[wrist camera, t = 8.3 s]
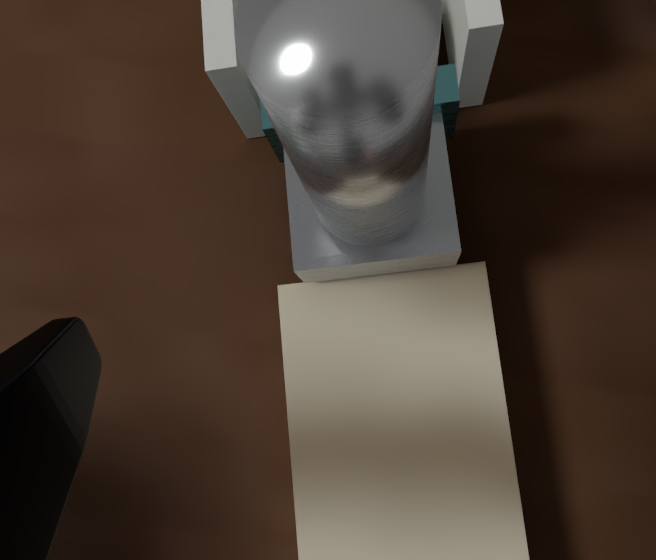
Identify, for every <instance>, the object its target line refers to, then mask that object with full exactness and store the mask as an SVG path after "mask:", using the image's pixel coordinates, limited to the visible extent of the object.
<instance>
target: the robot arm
mask: <svg viewBox="0 0 656 560" xmlns="http://www.w3.org/2000/svg"><path fill="white" fill-rule="evenodd" d="M101 369H102V361H101V357H100V354H99V352H98V350H97V347H96V345H95V343H94V341H93V339H92V337H91V335H90V333H89V331H88V329H87V327H86V325H85V323H84V322H83V321H82V320H81V319H80V318H77V317H70V318H61V319H55V320H52V321H50V322H48V323H47V324H45V325H44V326H42V327H41V328H39V329H38V330H36V331H35V332H33V333H32V334H30V335H28V336H27V337H25V338H24V339H22V340H21V341H19V342H18V343H16V344H15V345H13V346H12V347H10V348H9V349H7V350H6V351H4V352H2V353H1V354H0V560H47V558H48V555H49V552H50V549H51V546H52V543H53V540H54V537H55V534H56V531H57V528H58V525H59V522H60V520H61V517H62V514H63V511H64V508H65V505H66V502H67V499H68V496H69V493H70V490H71V487H72V484H73V481H74V478H75V475H76V472H77V469H78V467H79V463H80V460H81V457H82V454H83V450H84V446H85V442H86V438H87V434H88V429H89V425H90V420H91V416H92V411H93V407H94V402H95V397H96V393H97V388H98V384H99V379H100V375H101Z"/></svg>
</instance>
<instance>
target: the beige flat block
mask: <svg viewBox="0 0 656 560" xmlns="http://www.w3.org/2000/svg"><path fill="white" fill-rule="evenodd" d="M278 298H279V311H280V324H281V337H282V350H283V363H284V376H285V388H286V401H287V414H288V427H289V440H290V453H291V466H292V478H293V491H294V504H295V517H296V530H297V543H298V556H299V560H529V553H528V546H527V540H526V533H525V526H524V520H523V513H522V506H521V499H520V493H519V486H518V479H517V472H516V466H515V459H514V452H513V445H512V439H511V432H510V425H509V419H508V412H507V405H506V398H505V392H504V385H503V378H502V371H501V365H500V358H499V351H498V344H497V338H496V331H495V324H494V318H493V311H492V304H491V297H490V291H489V284H488V277H487V270H486V264H485V261H484V262H475V263H467V264H458V265H456V266H448V267H439V268H430V269H422V270H413V271H405V272H396V273H388V274H379V275H370V276H362V277H353V278H345V279H336V280H328V281H319V282H310V283H295V284H287V285H278Z"/></svg>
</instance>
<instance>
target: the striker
mask: <svg viewBox="0 0 656 560" xmlns="http://www.w3.org/2000/svg"><path fill="white" fill-rule="evenodd" d="M441 22H442V4H441V0H239V2H238V6H237V9H236V15H235V22H234V36H235V43H236V48H237V52H238V55H239V59H240V61H241V63H242V65H243V67H244V69H245V71H246V73H247V75H248V77H249V79H250V81H251V83H252V85H253V87H254V89H255V91H256V93H257V95H258V97H259V99H260V109H261V122H262V130H263V132H264V134H265V136H266V137H267V139H268V141H269V143H270V145H271V146H272V148H273V150H274V152H275V154H276V156H277V157H278V159H279V161H280V162H285V173H286V185H287V197H288V209H289V221H290V233H291V245H292V257H293V269H294V272H295V273H296V274H297V275H298V277H299V278H300V279H301V280H302V281H303V282H304V283H310V282H319V281H328V280H336V279H345V278H353V277H362V276H370V275H379V274H388V273H396V272H405V271H413V270H422V269H430V268H439V267H448V266H456V264H457V261H458V259H459V256H460V254H461V245H460V238H459V231H458V224H457V217H456V210H455V203H454V195H453V188H452V181H451V174H450V167H449V160H448V153H447V146H446V139H452V138H453V136H454V131H455V126H456V120H457V115H458V110H459V104H460V95H459V89H458V82H457V75H456V68H455V64H448V65H442V66H437V64H438V54H439V44H440V33H441Z"/></svg>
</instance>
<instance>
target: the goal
mask: <svg viewBox="0 0 656 560" xmlns="http://www.w3.org/2000/svg"><path fill="white" fill-rule="evenodd" d="M238 2H239V0H201V8H202V25H203V43H204V60H205V72H206V73H207V75H208V77H209V78H210V80H211V81H212V83H213V84H214V86H215V88H216V89H217V91H218V92H219V94H220V96H221V97H222V99H223V100H224V102H225V104H226V105H227V107H228V108H229V110H230V111H231V113H232V115H233V116H234V118H235V119H236V121H237V123H238V124H239V126H240V127H241V129H242V131H243V132H244V134H245V135H246V137H247V139H249V138H255V137H262V136H265V134H264V132H263V130H262V122H261V109H260V99H259V97H258V95H257V93H256V91H255V89H254V87H253V85H252V83H251V81H250V79H249V77H248V75H247V73H246V71H245V69H244V67H243V65H242V63H241V61H240V59H239V55H238V52H237V48H236V43H235V36H234V22H235V15H236V9H237V6H238ZM441 4H442V22H443V29H444V36H445V43H446V50H447V56H448V63H449V64H455V68H456V75H457V82H458V89H459V95H460V104H459V108H462V107H469V106H476V105H482V103H483V100H484V96H485V92H486V89H487V85H488V81H489V77H490V74H491V70H492V66H493V62H494V59H495V55H496V51H497V47H498V44H499V40H500V36H501V33H502V29H503V25H504V21H503V16H502V10H501V4H500V0H441Z"/></svg>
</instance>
